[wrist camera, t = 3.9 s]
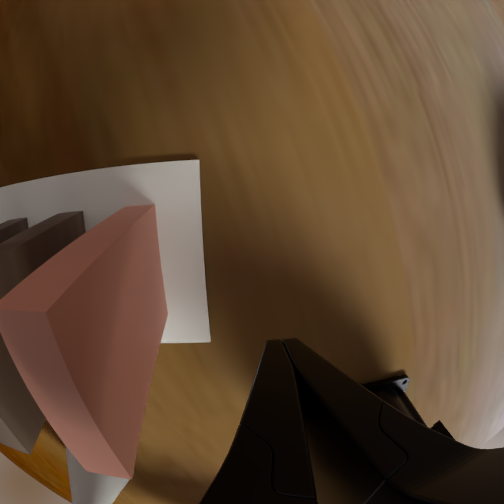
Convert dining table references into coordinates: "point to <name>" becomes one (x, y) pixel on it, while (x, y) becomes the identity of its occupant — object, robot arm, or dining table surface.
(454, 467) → the robot arm
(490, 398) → the dining table surface
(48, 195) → the runner
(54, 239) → the domino
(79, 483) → the flask
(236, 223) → the dining table surface
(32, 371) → the domino
